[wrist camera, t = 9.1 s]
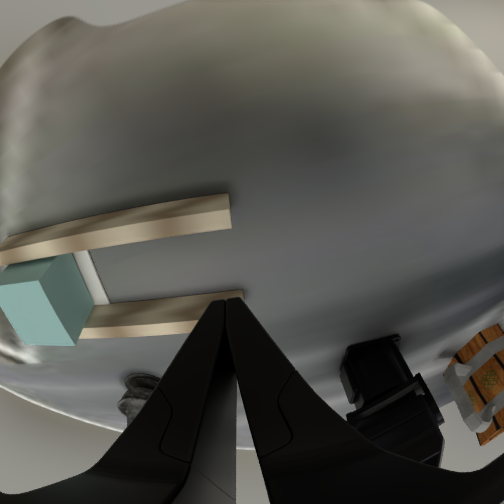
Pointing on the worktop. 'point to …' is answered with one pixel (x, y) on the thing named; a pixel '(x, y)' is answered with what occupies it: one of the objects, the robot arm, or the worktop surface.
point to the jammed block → (46, 300)
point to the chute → (122, 232)
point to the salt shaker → (136, 394)
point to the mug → (480, 383)
